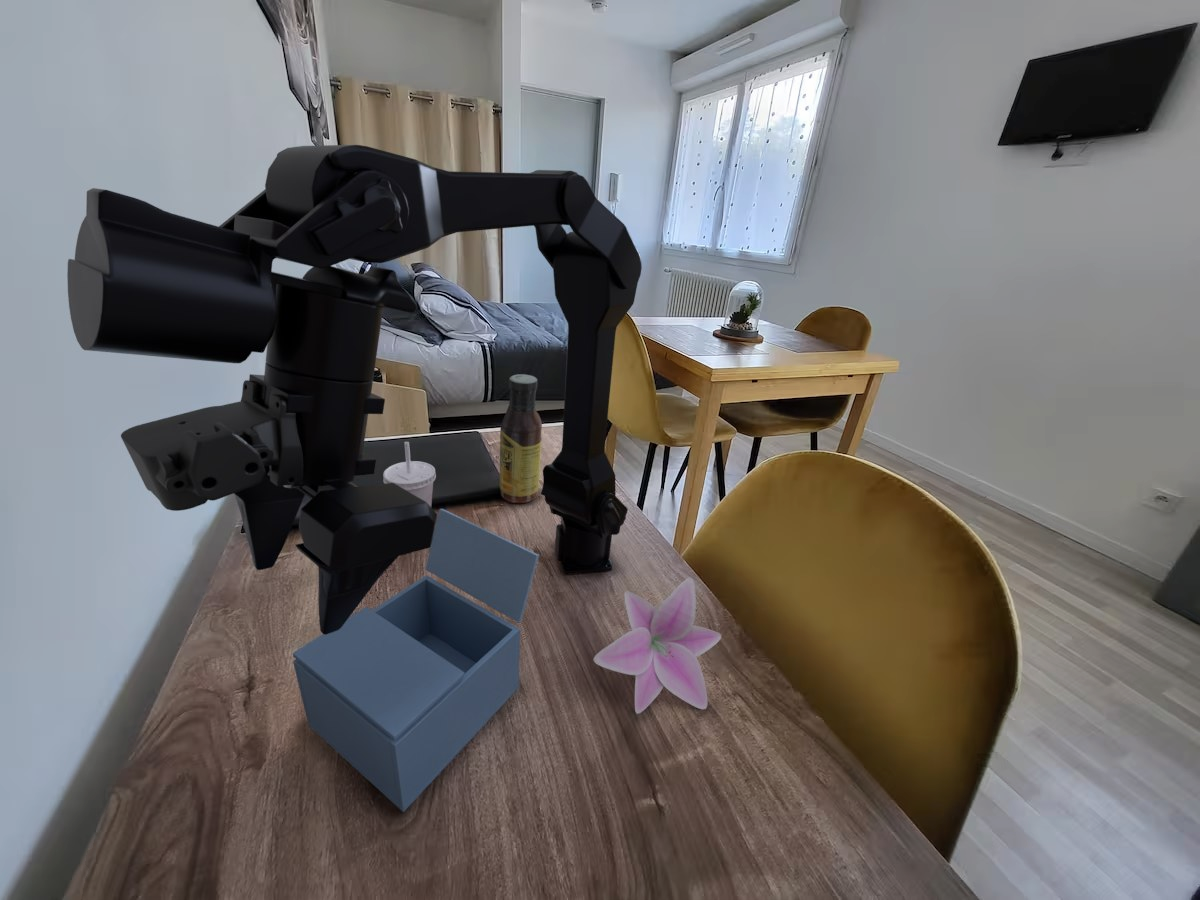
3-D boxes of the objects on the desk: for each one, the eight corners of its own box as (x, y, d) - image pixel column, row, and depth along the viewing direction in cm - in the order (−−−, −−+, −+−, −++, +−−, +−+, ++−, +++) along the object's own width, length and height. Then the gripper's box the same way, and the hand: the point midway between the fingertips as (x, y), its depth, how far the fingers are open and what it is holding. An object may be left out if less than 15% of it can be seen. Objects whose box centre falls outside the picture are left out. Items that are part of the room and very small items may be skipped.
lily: (569, 695, 47) (598, 672, 40) (605, 587, 55) (634, 551, 47) (681, 744, 47) (730, 730, 40) (701, 630, 55) (745, 601, 48)
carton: (430, 631, 51) (425, 568, 48) (518, 688, 46) (520, 621, 42) (307, 725, 41) (290, 653, 37) (403, 812, 36) (393, 738, 32)
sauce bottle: (497, 487, 80) (497, 370, 72) (534, 485, 82) (539, 370, 74) (502, 508, 74) (503, 383, 66) (542, 505, 76) (548, 383, 68)
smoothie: (387, 550, 63) (375, 452, 57) (392, 523, 68) (382, 431, 62) (439, 545, 64) (433, 450, 59) (439, 519, 70) (434, 430, 64)
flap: (424, 569, 48) (428, 568, 48) (518, 623, 42) (521, 621, 43) (439, 508, 47) (442, 508, 47) (536, 555, 42) (539, 554, 42)
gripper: (92, 321, 28) (87, 567, 31) (229, 408, 18) (201, 751, 21) (300, 346, 37) (280, 534, 40) (462, 413, 27) (418, 651, 31)
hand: (294, 597), depth 33 cm, fingers open, 9 cm apart
